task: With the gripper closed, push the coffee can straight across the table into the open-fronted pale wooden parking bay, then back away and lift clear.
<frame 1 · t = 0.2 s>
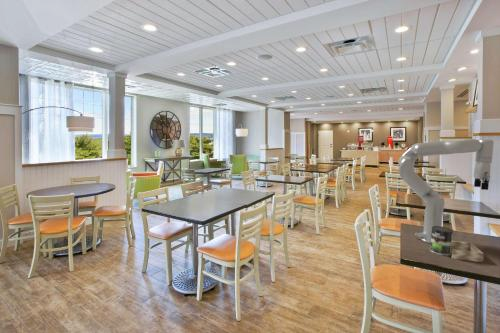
hand: (480, 188, 168), 36 cm above the table, tool pointing down, fingers open, 9 cm apart
parking bay: (460, 254, 159), on the table
coffee can: (440, 252, 162), on the table
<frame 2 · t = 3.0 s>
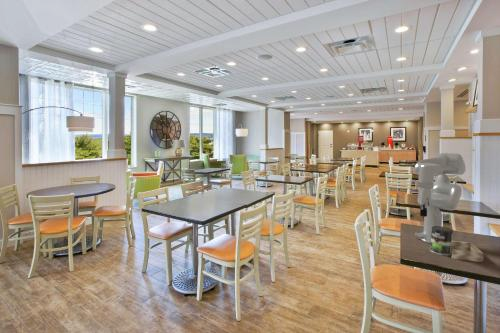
hand: (423, 215, 164), 21 cm above the table, tool pointing down, fingers closed
nothing on the table moved.
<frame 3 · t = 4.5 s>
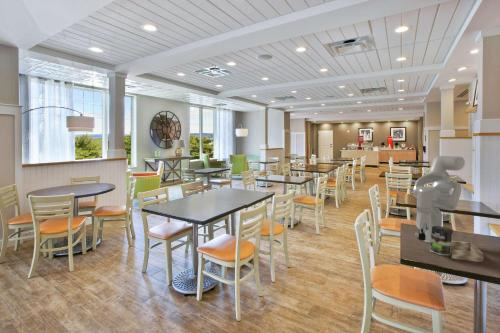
hand: (421, 239, 165), 6 cm above the table, tool pointing down, fingers closed
nothing on the table moved.
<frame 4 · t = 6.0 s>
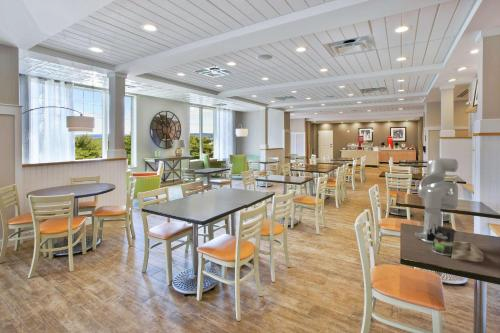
hand: (430, 240, 163), 6 cm above the table, tool pointing down, fingers closed
coffee can: (442, 252, 162), on the table, touching gripper
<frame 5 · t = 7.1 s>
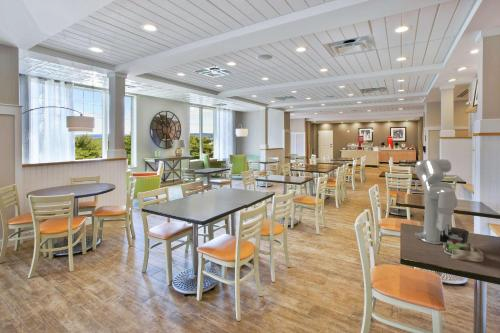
hand: (443, 241, 161), 7 cm above the table, tool pointing down, fingers closed
coffee can: (454, 253, 160), on the table, touching gripper
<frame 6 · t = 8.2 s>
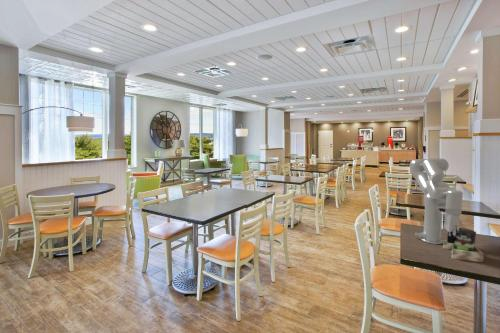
hand: (450, 242, 160), 6 cm above the table, tool pointing down, fingers closed
coffee can: (462, 254, 159), on the table, touching gripper
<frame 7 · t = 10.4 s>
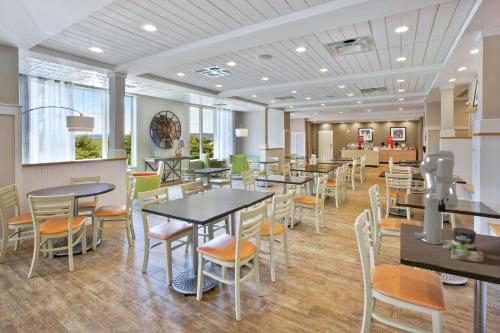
hand: (441, 211, 158), 25 cm above the table, tool pointing down, fingers closed
coffee can: (462, 254, 160), on the table
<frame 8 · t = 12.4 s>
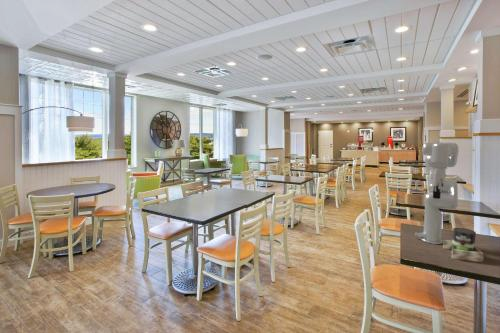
hand: (436, 198, 154), 33 cm above the table, tool pointing down, fingers closed
nothing on the table moved.
at the end: coffee can inside the target area on the parking bay (1.3 cm from its centre), point 0.0 cm above the parking bay's base; coffee can tilted 0°; coffee can moved 11.0 cm from its start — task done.
